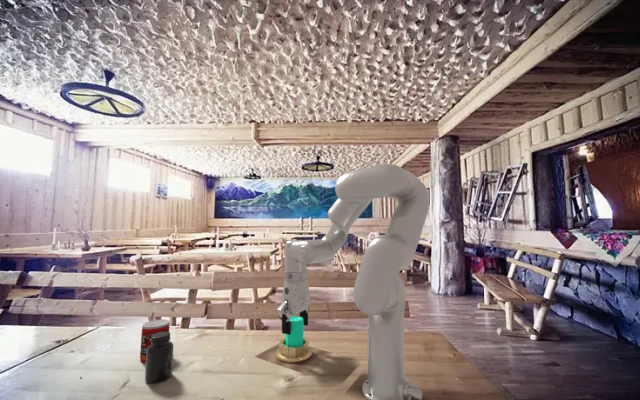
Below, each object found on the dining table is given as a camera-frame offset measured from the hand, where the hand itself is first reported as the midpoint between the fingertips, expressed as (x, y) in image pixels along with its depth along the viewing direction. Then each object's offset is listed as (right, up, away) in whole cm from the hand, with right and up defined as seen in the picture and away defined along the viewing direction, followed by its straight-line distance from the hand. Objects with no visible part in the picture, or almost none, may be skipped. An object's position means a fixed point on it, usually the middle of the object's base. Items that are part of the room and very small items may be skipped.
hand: (295, 329), depth 92 cm
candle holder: (0, -8, -1) cm, 8 cm away
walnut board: (0, -10, -1) cm, 10 cm away
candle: (0, -7, -1) cm, 7 cm away
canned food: (-47, -10, 0) cm, 48 cm away
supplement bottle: (-38, -8, -13) cm, 41 cm away
